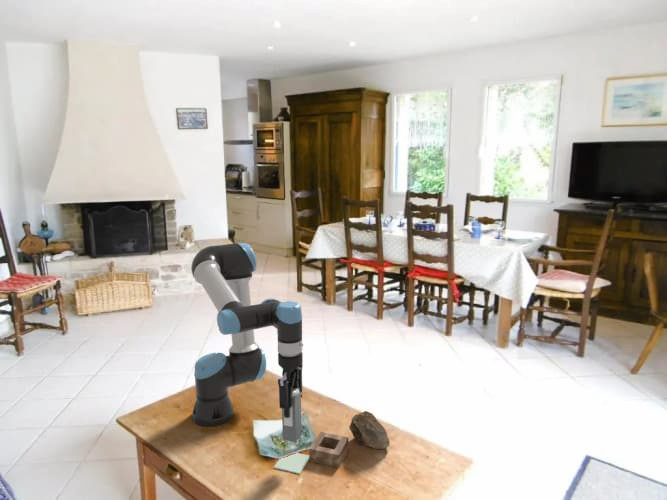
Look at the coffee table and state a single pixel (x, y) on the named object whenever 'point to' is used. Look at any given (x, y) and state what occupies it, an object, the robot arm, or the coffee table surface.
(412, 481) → the coffee table surface
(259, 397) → the coffee table surface
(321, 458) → the brown square frame
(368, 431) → the rock
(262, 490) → the coffee table surface
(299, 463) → the mat
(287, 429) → the plug
